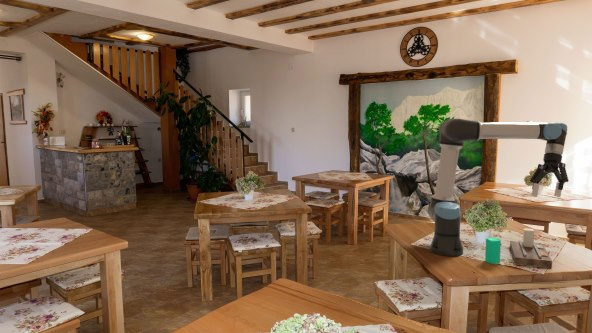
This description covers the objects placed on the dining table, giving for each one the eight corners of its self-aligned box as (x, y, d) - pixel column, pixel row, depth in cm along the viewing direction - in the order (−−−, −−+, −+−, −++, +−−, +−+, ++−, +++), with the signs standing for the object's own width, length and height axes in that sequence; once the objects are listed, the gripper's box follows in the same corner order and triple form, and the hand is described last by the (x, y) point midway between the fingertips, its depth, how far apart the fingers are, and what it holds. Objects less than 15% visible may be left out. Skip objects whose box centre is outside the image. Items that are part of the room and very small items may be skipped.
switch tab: (523, 246, 196) (524, 230, 196) (522, 244, 200) (523, 228, 199) (533, 247, 195) (534, 231, 194) (532, 245, 198) (533, 229, 198)
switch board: (514, 263, 182) (515, 255, 182) (510, 246, 208) (510, 238, 207) (551, 267, 177) (552, 258, 176) (542, 249, 202) (542, 241, 202)
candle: (482, 260, 187) (483, 234, 186) (491, 258, 190) (492, 233, 189) (493, 264, 182) (494, 237, 181) (502, 262, 184) (503, 236, 183)
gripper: (582, 154, 189) (574, 198, 186) (539, 158, 213) (531, 198, 211) (569, 149, 188) (561, 194, 185) (527, 154, 212) (519, 194, 209)
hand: (545, 196), depth 198 cm, fingers open, 13 cm apart
